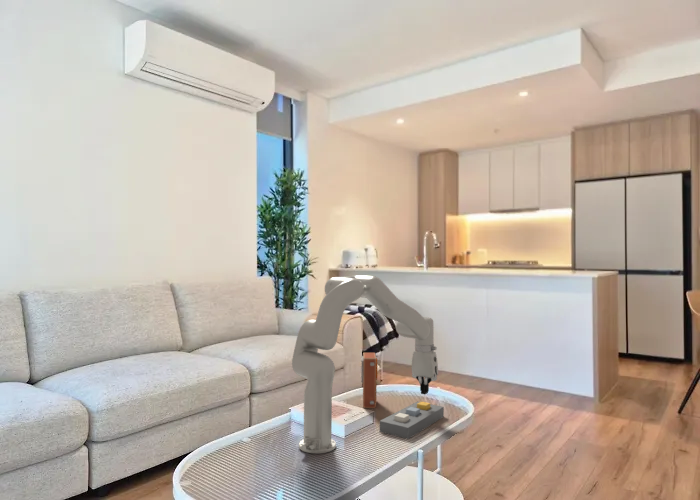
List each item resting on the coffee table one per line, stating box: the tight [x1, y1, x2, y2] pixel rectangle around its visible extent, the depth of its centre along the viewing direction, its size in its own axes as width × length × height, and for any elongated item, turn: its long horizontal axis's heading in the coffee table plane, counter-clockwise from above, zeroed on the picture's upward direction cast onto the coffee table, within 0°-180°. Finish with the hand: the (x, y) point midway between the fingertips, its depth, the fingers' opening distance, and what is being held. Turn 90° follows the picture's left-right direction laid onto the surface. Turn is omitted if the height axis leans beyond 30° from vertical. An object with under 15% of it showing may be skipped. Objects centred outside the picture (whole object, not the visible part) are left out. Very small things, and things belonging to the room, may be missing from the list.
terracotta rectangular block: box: [360, 352, 378, 409], centre depth 213 cm, size 21×7×15 cm
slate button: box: [406, 407, 420, 416], centre depth 188 cm, size 4×4×3 cm
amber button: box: [417, 401, 431, 410], centre depth 196 cm, size 4×4×3 cm
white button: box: [394, 413, 409, 423], centre depth 181 cm, size 4×4×3 cm
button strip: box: [379, 401, 445, 440], centre depth 188 cm, size 30×12×4 cm, turn 145°
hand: (424, 393), depth 196 cm, fingers closed
